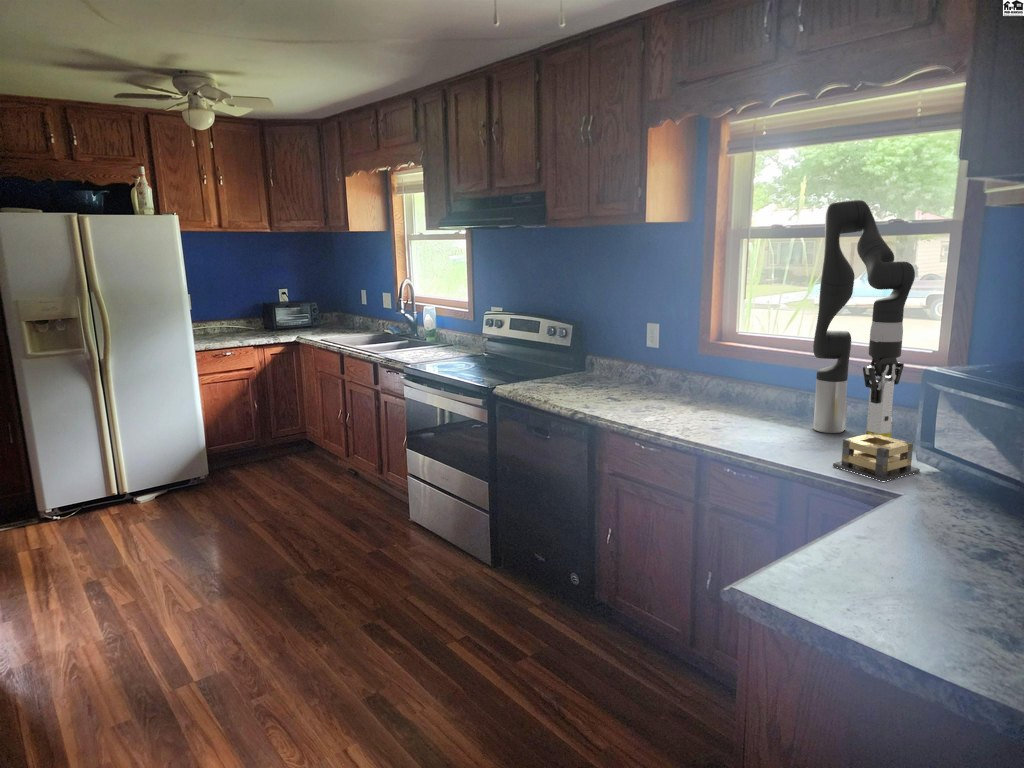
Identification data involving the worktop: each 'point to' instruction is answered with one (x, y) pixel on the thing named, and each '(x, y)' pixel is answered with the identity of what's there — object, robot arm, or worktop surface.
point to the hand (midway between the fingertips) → (880, 401)
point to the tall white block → (881, 409)
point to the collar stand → (877, 457)
